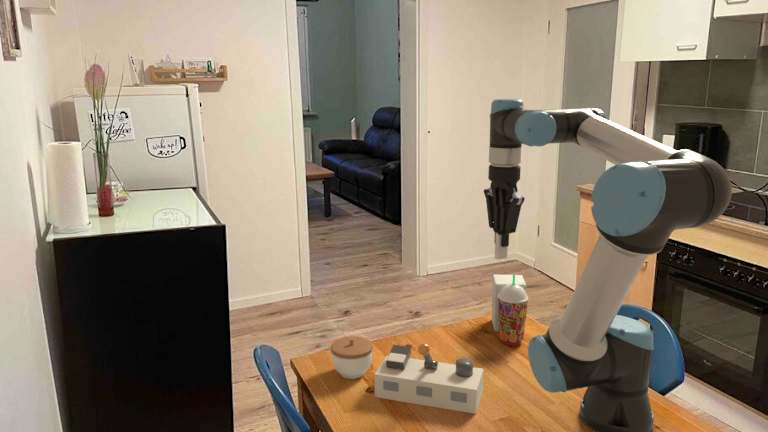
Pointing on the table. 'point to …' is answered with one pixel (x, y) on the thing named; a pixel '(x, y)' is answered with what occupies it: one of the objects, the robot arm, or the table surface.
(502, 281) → the supplement box
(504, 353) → the table surface
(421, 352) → the lever
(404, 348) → the block
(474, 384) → the console
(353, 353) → the lidded jar
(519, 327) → the smoothie
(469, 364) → the button
